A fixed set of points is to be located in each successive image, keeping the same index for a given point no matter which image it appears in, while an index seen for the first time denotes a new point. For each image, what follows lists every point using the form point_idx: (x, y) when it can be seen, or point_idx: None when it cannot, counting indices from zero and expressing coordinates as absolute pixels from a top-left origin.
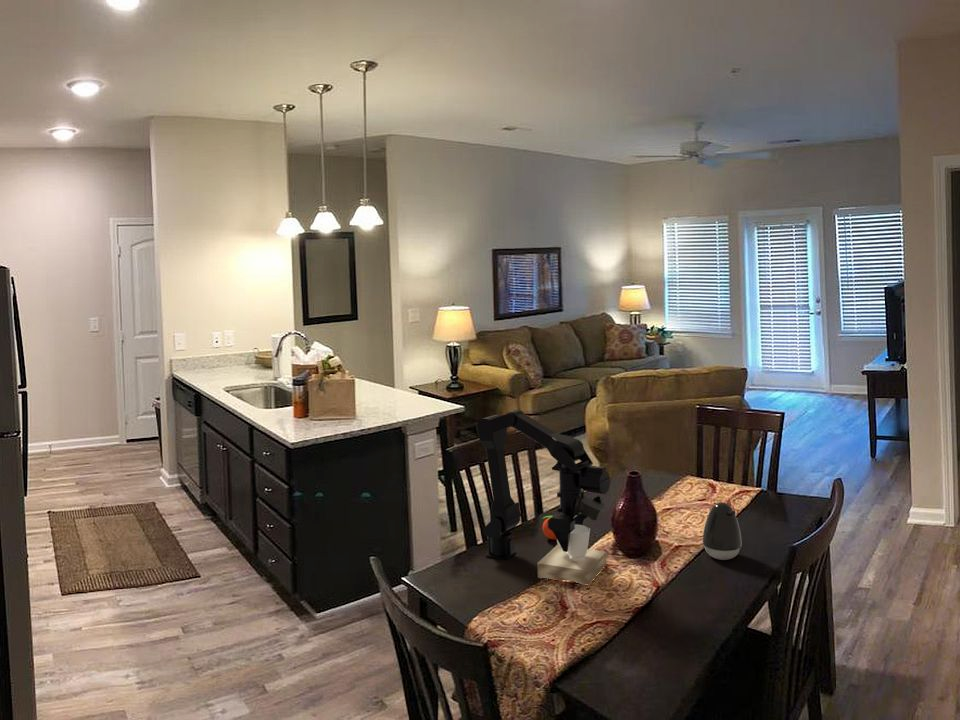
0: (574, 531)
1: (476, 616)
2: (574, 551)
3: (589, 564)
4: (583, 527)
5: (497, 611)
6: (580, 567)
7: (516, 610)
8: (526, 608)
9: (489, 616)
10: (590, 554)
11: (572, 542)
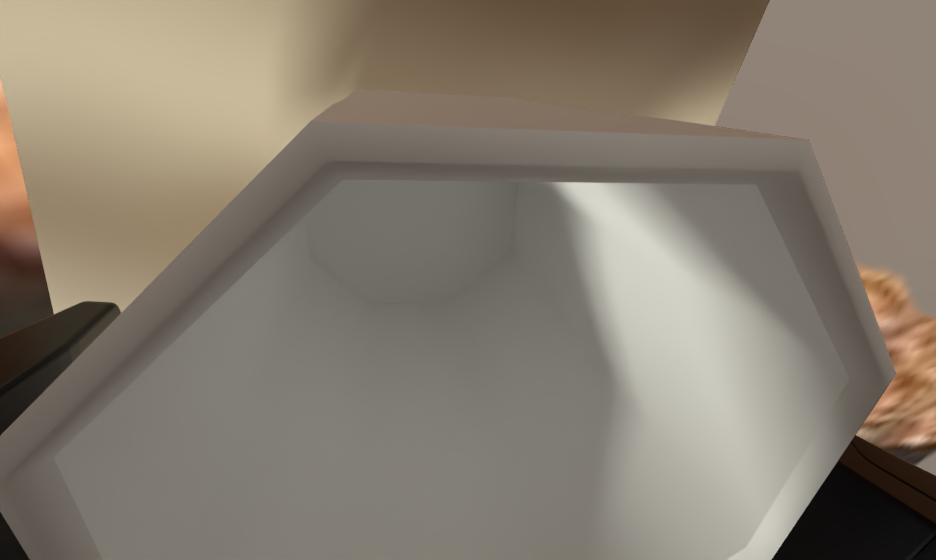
0: (234, 494)
1: (906, 442)
2: (554, 254)
3: (584, 2)
4: (99, 425)
5: (891, 399)
6: (670, 104)
7: (907, 339)
8: (902, 308)
9: (923, 407)
10: (217, 43)
11: (639, 356)
